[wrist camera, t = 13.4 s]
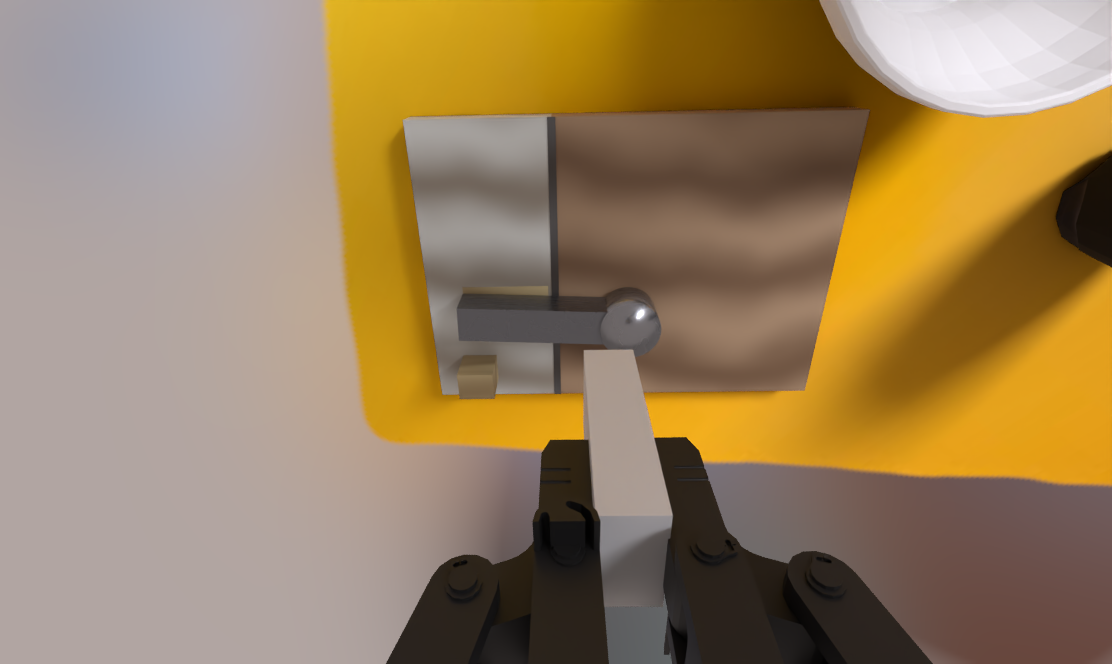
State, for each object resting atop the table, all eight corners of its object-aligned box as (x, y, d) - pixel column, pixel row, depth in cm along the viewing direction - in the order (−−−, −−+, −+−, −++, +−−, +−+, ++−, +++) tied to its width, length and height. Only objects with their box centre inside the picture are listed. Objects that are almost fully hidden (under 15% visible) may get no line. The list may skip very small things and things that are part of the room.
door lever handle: (657, 287, 37) (664, 304, 34) (651, 338, 38) (657, 358, 36) (462, 282, 37) (455, 299, 34) (465, 334, 38) (458, 353, 36)
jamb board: (411, 116, 34) (389, 125, 30) (853, 106, 33) (896, 114, 29) (447, 380, 43) (434, 416, 39) (794, 376, 43) (820, 411, 38)
